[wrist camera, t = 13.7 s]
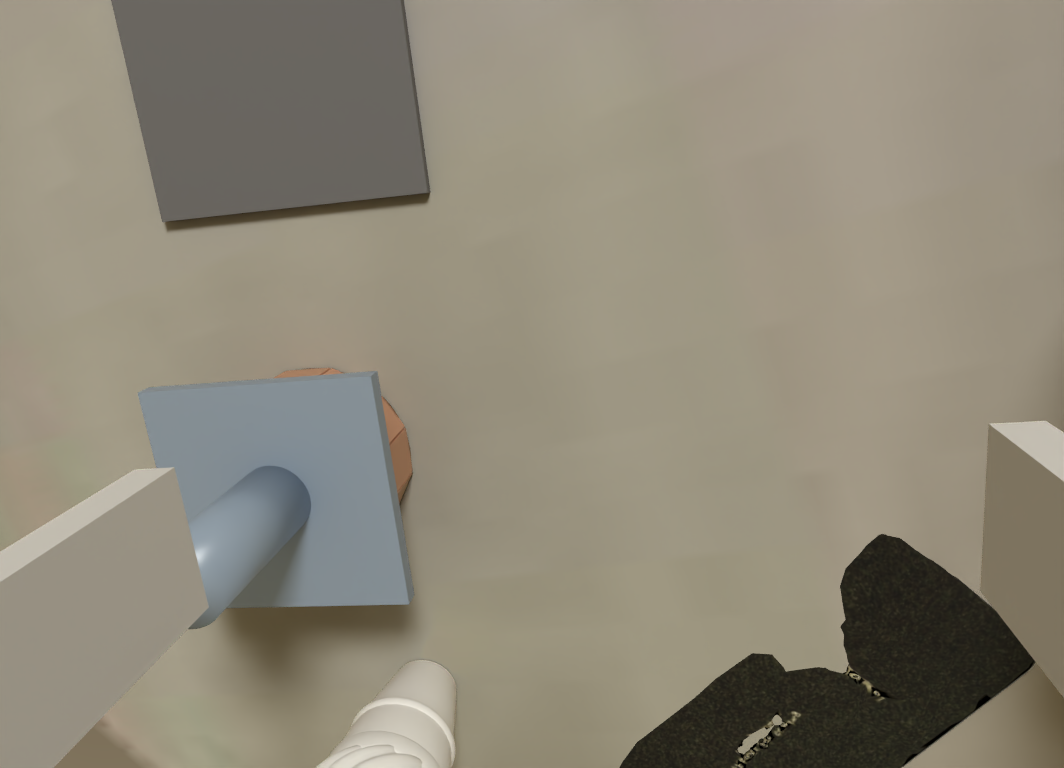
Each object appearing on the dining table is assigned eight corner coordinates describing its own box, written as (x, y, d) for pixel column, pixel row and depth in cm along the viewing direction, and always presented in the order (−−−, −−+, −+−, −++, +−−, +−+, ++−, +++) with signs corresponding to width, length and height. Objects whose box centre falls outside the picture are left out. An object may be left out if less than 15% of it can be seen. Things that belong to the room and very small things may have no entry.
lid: (377, 371, 40) (293, 437, 30) (414, 594, 43) (349, 717, 34) (149, 387, 42) (4, 454, 33) (201, 599, 45) (84, 716, 36)
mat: (384, -135, 39) (381, -140, 38) (430, 192, 43) (427, 192, 42) (99, -83, 41) (91, -87, 41) (168, 221, 46) (162, 221, 45)
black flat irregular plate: (582, 744, 53) (749, 879, 53) (581, 751, 52) (750, 887, 53) (855, 492, 45) (1047, 652, 46) (858, 496, 44) (1052, 658, 45)
